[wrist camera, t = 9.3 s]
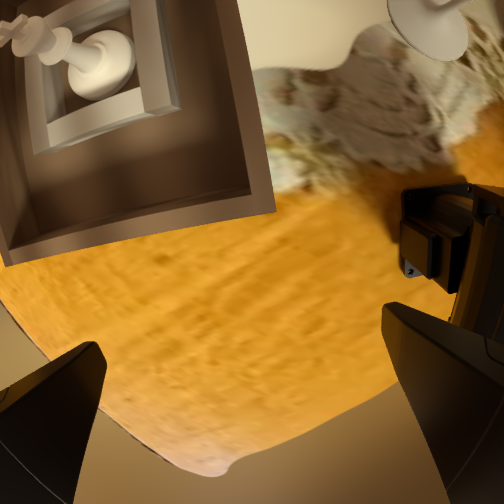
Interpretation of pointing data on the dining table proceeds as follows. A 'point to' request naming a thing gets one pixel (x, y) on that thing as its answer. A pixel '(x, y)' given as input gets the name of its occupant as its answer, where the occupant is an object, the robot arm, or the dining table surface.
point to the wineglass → (431, 26)
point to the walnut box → (129, 130)
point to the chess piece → (75, 54)
